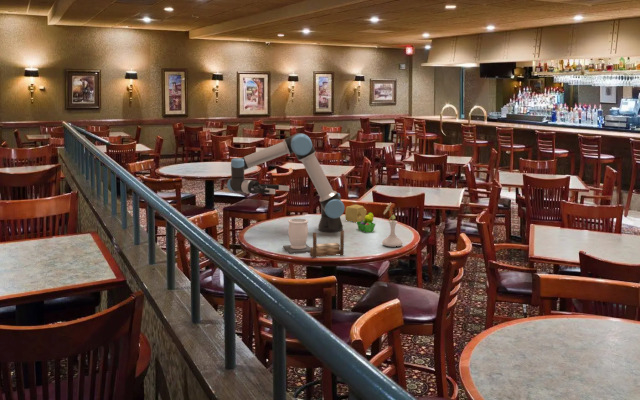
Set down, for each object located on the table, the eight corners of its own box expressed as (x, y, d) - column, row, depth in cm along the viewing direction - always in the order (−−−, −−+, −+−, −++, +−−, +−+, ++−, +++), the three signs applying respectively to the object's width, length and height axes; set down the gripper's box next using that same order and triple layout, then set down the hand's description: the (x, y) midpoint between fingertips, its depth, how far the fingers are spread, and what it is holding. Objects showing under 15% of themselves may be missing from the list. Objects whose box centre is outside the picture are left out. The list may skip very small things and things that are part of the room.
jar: (310, 246, 350) (310, 219, 347) (304, 250, 340) (304, 222, 338) (292, 244, 353) (292, 217, 351) (285, 248, 344) (285, 221, 341)
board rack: (339, 252, 342) (339, 228, 340) (344, 255, 336) (344, 231, 334) (309, 254, 337) (309, 230, 335) (313, 257, 330) (313, 233, 328)
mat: (305, 246, 355) (305, 243, 355) (313, 252, 342) (313, 249, 342) (283, 247, 351) (283, 245, 351) (290, 253, 338) (290, 251, 338)
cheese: (367, 221, 425) (367, 206, 423) (356, 223, 417) (356, 208, 415) (355, 218, 432) (355, 204, 430) (344, 221, 424) (344, 206, 422)
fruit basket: (355, 229, 398) (356, 211, 396) (367, 228, 402) (368, 210, 400) (365, 233, 388) (365, 215, 386) (377, 232, 392) (378, 213, 390)
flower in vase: (389, 242, 366) (390, 199, 361) (406, 245, 358) (407, 201, 354) (376, 246, 356) (377, 202, 351) (393, 249, 348) (395, 204, 344)
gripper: (264, 190, 380) (294, 193, 369) (237, 196, 359) (268, 199, 348) (264, 178, 378) (294, 180, 368) (237, 183, 357) (268, 186, 347)
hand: (281, 190), depth 358 cm, fingers open, 13 cm apart
